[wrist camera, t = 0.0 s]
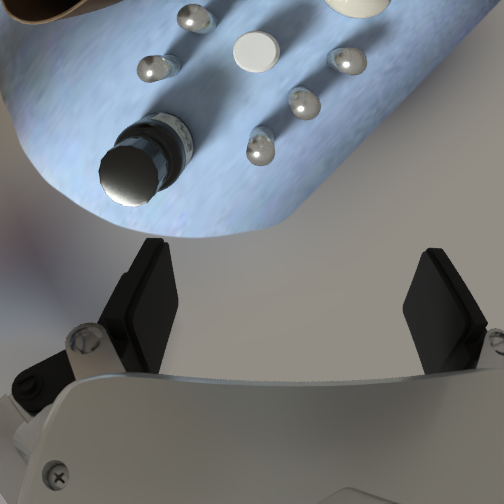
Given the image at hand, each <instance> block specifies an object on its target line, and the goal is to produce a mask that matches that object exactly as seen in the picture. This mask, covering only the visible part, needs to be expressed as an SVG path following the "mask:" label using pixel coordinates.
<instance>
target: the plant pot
mask: <svg viewBox="0 0 504 504" xmlns="http://www.w3.org/2000/svg"><path fill="white" fill-rule="evenodd" d="M121 1H123V0H1V2H2V5H3V7H4V9H5V10H6V12H7V13H8V14H9V15H10V16H11V17H12V18H13V19H15V20H17V21H19V22H21V23H25V24H42V23H47V22H51V21H56V20H60V19H65V18H69V17H74V16H78V15H82V14H85V13H89V12H92V11H96V10H99V9H102V8H105V7H108V6H111V5H113V4H116V3H118V2H121Z"/></svg>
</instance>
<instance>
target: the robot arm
mask: <svg viewBox="0 0 504 504" xmlns="http://www.w3.org/2000/svg"><path fill="white" fill-rule="evenodd" d="M177 308H178V294H177V289H176V284H175V278H174V273H173V267H172V261H171V255H170V249H169V244H168V243H167V242H164V240H163V239H162V238H147V239H146V240H145V242H144V243H143V245H142V247H141V249H140V250H139V252H138V254H137V256H136V258H135V259H134V261H133V263H132V265H131V267H130V269H129V271H128V272H126V273H124V274H123V275H122V276H121V278H120V280H119V282H118V284H117V286H116V287H115V289H114V291H113V293H112V295H111V297H110V299H109V301H108V303H107V305H106V307H105V308H104V311H103V313H102V314H101V316H100V318H99V321H98V322H97V323H85V324H81V325H79V326H77V327H75V328H74V329H73V330H72V331H71V332H70V333H69V334H68V336H67V337H66V341H65V348H66V349H65V350H63V351H61V352H59V353H57V354H55V355H53V356H51V357H49V358H47V359H46V360H44V361H42V362H40V363H38V364H36V365H34V366H32V367H30V368H28V369H26V370H24V371H23V372H21V373H20V374H19V375H18V376H17V377H16V378H15V380H14V382H13V384H12V393H11V394H10V395H9V396H8V395H7V394H5V395H4V396H2V397H1V398H0V493H1V494H2V496H3V497H4V499H5V500H6V502H7V503H8V504H504V331H503V330H501V329H496V328H494V329H490V330H489V331H487V330H486V326H487V324H488V322H487V321H486V319H485V317H484V315H483V313H482V312H481V310H480V308H479V306H478V304H477V303H476V301H475V299H474V298H473V296H472V294H471V293H470V291H469V290H468V288H467V286H466V284H465V283H464V281H463V280H462V278H461V276H460V275H459V273H458V272H457V270H456V269H455V267H454V265H453V264H452V262H451V261H450V259H449V258H448V256H447V255H446V253H445V252H444V250H443V249H441V248H428V249H427V250H426V251H425V252H423V253H422V255H421V258H420V261H419V264H418V266H417V270H416V272H415V275H414V278H413V281H412V283H411V286H410V288H409V291H408V293H407V296H406V299H405V301H404V304H403V314H404V316H405V319H406V321H407V324H408V327H409V330H410V332H411V335H412V338H413V340H414V343H415V346H416V349H417V352H418V355H419V358H420V361H421V364H422V367H423V370H424V373H425V375H418V376H410V377H398V378H386V379H372V380H371V379H370V380H352V381H325V382H324V381H323V382H276V381H245V380H226V379H212V378H197V377H184V376H174V375H163V374H158V373H159V370H160V366H161V363H162V359H163V356H164V352H165V349H166V345H167V342H168V338H169V335H170V332H171V328H172V324H173V322H174V318H175V315H176V312H177Z"/></svg>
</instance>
